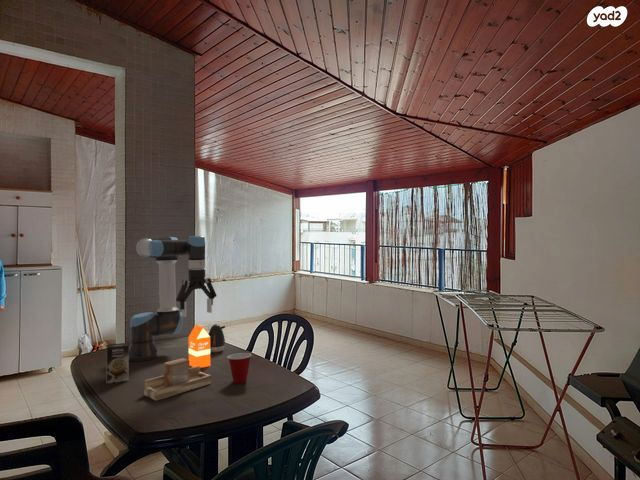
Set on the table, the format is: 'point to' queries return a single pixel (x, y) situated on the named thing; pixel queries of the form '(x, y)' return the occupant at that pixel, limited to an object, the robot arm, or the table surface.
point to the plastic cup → (239, 366)
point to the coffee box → (117, 363)
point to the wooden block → (176, 372)
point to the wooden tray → (158, 391)
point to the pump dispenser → (216, 338)
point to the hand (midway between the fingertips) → (197, 314)
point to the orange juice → (199, 347)
